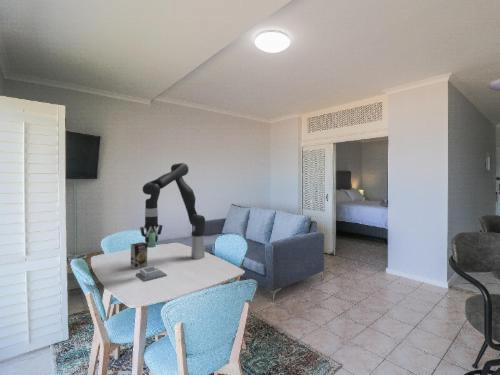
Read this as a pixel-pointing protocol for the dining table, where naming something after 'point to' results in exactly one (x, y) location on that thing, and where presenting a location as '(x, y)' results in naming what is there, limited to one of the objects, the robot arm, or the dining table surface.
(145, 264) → the coffee box
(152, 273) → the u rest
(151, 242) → the green bottle
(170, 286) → the dining table surface
